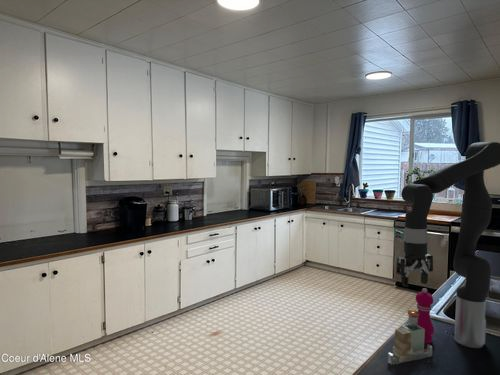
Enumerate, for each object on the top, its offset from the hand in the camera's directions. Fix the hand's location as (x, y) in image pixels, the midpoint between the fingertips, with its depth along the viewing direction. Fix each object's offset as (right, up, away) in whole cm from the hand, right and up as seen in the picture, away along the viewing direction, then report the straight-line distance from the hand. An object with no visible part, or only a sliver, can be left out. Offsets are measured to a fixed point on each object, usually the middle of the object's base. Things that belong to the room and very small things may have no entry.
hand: (414, 284), depth 122 cm
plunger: (0, -16, +1) cm, 16 cm away
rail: (-4, -24, -5) cm, 25 cm away
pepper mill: (+7, -24, +8) cm, 26 cm away
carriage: (-7, -23, -7) cm, 25 cm away
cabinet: (0, -24, +2) cm, 24 cm away
